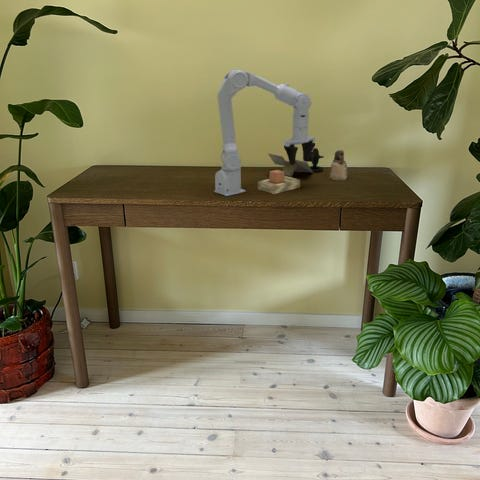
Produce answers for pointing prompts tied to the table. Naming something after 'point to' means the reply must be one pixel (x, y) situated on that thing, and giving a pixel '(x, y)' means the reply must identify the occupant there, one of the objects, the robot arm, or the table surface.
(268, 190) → the beige piece
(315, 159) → the webcam
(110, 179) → the table surface
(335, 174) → the figurine
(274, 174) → the block
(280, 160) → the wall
